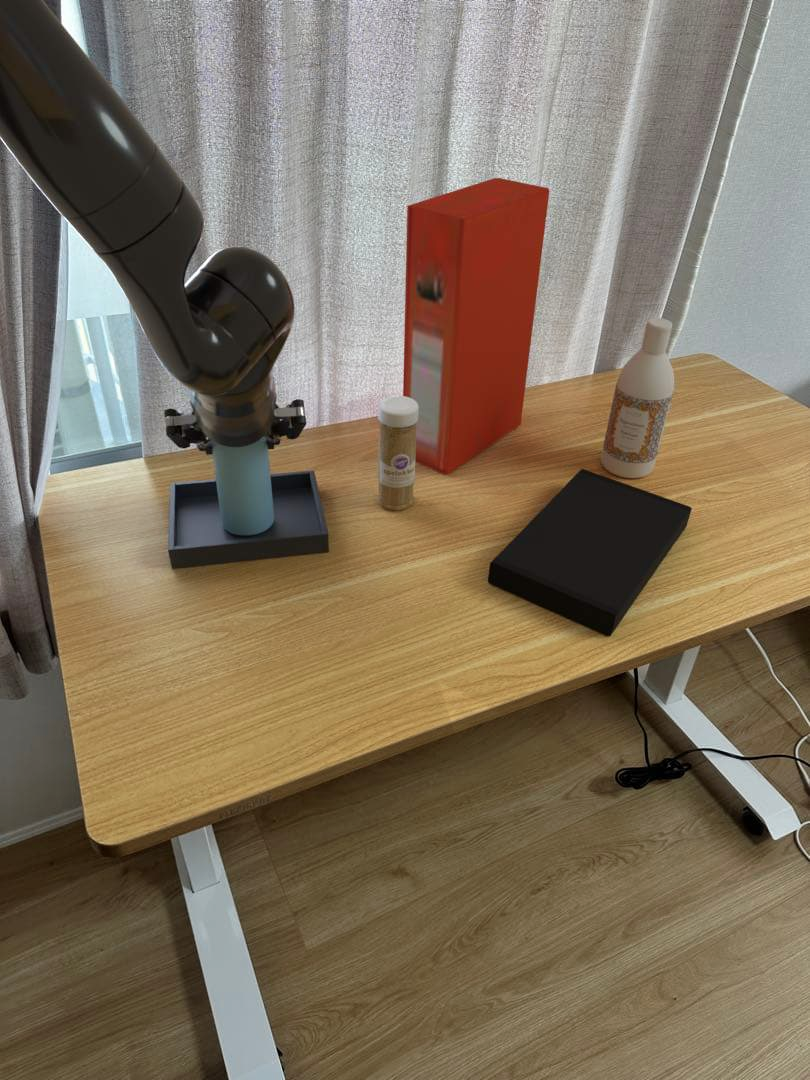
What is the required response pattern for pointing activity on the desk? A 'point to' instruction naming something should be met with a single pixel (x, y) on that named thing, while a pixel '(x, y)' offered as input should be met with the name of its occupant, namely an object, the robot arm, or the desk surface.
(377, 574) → the desk surface
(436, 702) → the desk surface
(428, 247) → the file binder
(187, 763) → the desk surface
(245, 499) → the bottle
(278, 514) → the tray
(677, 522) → the external hard drive
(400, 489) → the sprinkles bottle
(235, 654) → the desk surface
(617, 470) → the bath foam
